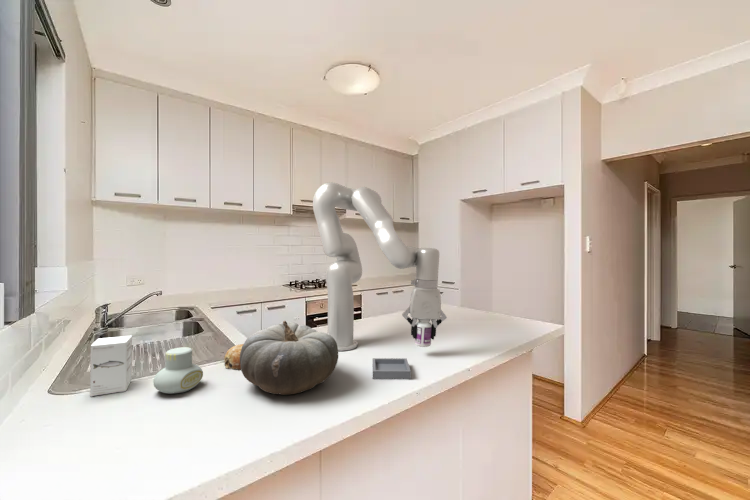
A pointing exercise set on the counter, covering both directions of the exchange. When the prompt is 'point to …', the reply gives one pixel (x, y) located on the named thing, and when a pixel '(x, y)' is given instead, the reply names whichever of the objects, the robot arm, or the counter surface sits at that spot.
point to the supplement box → (110, 365)
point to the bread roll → (233, 357)
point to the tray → (391, 368)
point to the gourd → (288, 358)
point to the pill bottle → (423, 333)
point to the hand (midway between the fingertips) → (423, 337)
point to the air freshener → (178, 372)
